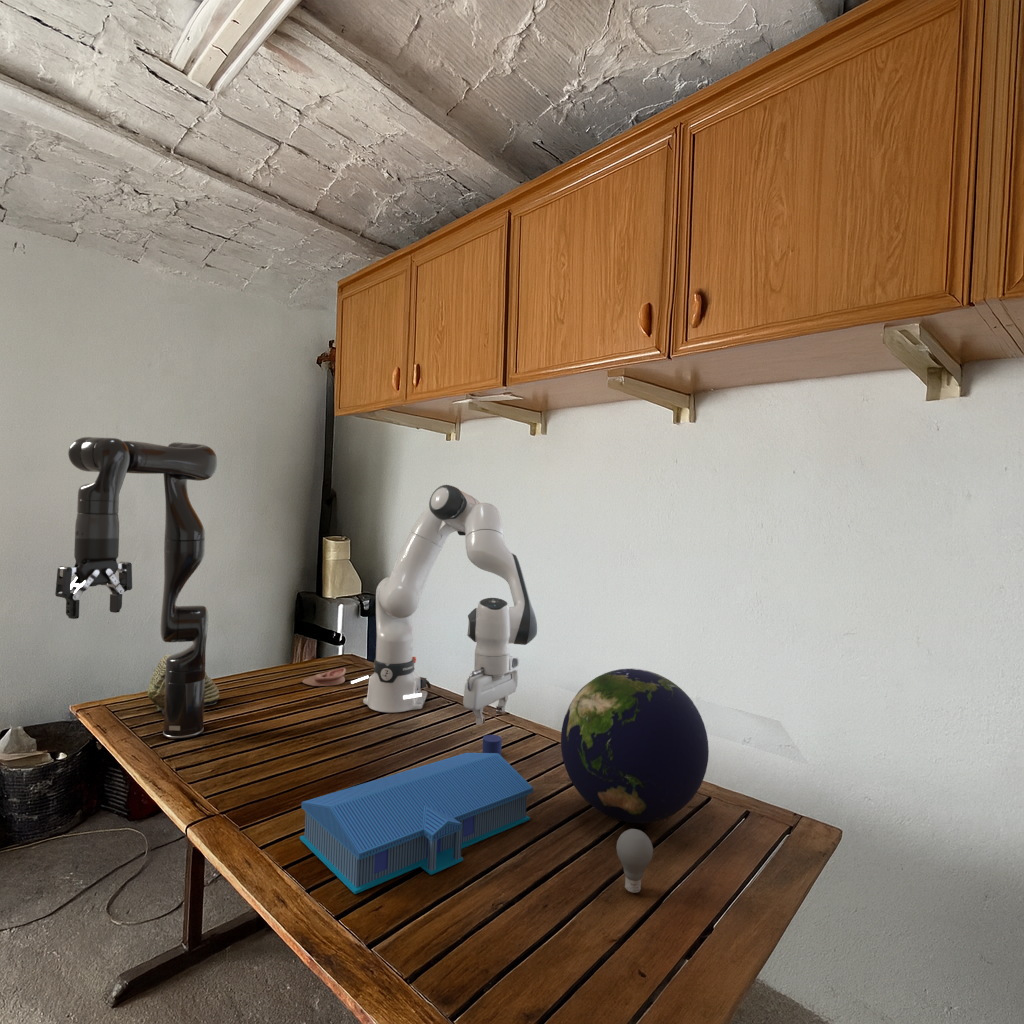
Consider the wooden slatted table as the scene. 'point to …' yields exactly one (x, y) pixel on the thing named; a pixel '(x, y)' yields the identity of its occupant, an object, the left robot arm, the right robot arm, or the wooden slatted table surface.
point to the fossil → (158, 687)
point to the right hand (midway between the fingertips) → (490, 718)
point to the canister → (492, 744)
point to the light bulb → (634, 857)
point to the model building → (414, 818)
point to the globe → (634, 745)
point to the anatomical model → (326, 678)
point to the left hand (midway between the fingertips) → (94, 615)
